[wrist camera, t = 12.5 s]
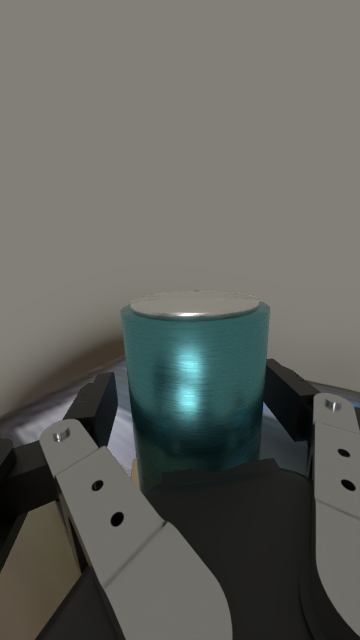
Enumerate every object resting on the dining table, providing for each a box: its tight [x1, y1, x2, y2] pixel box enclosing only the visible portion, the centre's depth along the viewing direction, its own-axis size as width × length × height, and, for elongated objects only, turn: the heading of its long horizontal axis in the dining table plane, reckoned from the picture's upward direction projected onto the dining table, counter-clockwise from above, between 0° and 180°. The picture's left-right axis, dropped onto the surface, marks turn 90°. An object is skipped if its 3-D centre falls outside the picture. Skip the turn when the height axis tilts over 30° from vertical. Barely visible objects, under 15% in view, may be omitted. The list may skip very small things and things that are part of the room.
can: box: [121, 291, 270, 494], centre depth 11 cm, size 6×6×12 cm
